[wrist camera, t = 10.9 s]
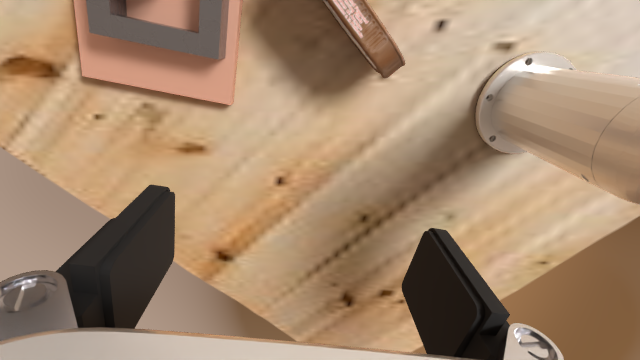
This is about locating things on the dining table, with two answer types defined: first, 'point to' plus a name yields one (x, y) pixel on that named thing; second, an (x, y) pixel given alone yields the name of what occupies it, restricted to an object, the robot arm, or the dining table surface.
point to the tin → (367, 34)
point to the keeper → (161, 53)
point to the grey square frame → (163, 28)
